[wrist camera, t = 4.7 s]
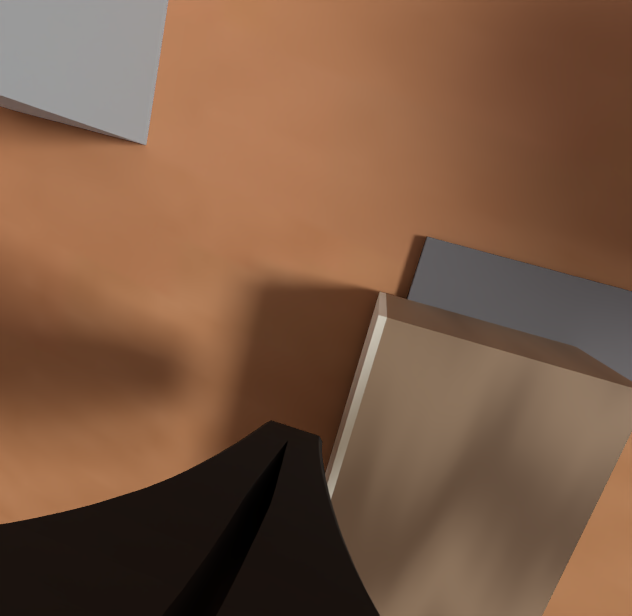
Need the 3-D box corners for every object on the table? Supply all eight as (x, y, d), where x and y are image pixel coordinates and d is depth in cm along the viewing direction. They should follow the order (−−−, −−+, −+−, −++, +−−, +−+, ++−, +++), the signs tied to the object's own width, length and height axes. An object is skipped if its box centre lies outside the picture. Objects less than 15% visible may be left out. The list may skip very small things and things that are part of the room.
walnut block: (316, 504, 15) (483, 561, 14) (295, 589, 11) (515, 669, 11) (379, 291, 13) (575, 346, 12) (378, 314, 9) (650, 393, 9)
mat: (514, 619, 15) (516, 627, 14) (325, 552, 15) (324, 558, 15) (664, 300, 12) (672, 301, 12) (426, 236, 13) (427, 236, 12)
